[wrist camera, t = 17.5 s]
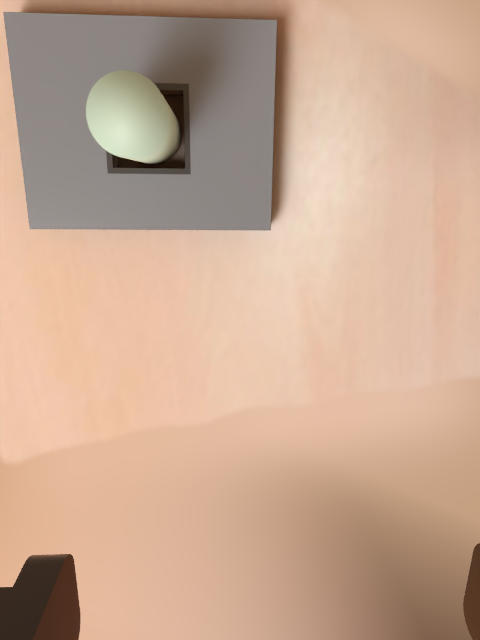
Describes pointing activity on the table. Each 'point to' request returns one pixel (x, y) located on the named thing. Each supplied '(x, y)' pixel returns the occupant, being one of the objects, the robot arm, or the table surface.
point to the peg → (132, 118)
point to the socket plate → (171, 79)
